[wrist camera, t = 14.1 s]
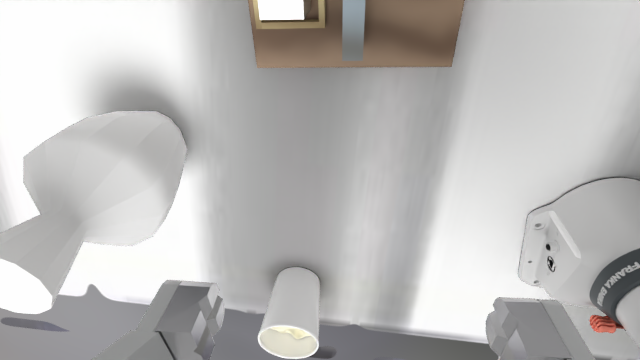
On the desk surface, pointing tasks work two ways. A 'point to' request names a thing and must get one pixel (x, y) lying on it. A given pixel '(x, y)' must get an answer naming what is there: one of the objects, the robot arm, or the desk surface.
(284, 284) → the candle holder
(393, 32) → the board
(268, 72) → the desk surface
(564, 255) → the robot arm
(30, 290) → the vase
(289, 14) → the bar
